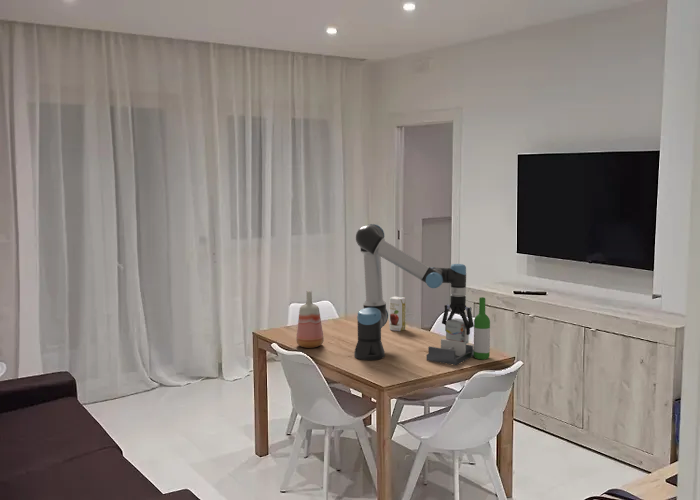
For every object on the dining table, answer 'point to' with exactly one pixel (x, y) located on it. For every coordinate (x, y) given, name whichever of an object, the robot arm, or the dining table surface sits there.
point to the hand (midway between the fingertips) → (457, 339)
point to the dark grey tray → (449, 355)
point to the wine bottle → (481, 333)
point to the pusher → (454, 346)
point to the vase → (309, 325)
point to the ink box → (456, 330)
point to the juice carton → (397, 313)
